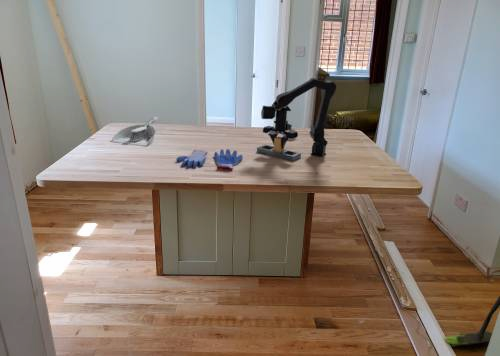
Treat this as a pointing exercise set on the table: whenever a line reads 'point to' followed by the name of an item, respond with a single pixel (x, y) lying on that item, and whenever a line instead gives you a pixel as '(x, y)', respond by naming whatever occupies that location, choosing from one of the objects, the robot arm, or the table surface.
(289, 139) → the wall hook
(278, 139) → the orange peg
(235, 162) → the pair of gloves
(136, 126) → the dustpan and brush
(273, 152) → the rail
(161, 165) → the table surface
